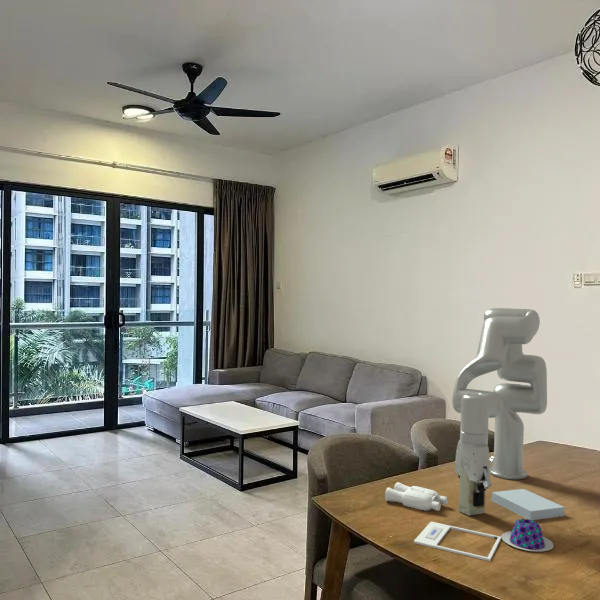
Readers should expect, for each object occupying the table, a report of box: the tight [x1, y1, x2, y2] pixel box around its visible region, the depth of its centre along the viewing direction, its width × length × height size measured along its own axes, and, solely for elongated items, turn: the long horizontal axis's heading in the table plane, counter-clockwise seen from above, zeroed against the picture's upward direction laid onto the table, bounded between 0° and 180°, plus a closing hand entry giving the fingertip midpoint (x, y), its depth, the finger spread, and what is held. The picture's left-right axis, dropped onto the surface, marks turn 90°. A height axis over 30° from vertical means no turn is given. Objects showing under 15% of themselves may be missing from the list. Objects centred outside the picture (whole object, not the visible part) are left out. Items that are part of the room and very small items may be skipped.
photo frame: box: [413, 521, 502, 562], centre depth 140 cm, size 15×1×18 cm
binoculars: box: [384, 482, 449, 512], centre depth 165 cm, size 10×16×5 cm, turn 55°
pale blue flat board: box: [491, 488, 565, 521], centre depth 165 cm, size 16×12×3 cm
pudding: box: [501, 518, 555, 552], centre depth 141 cm, size 12×12×5 cm
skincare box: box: [457, 468, 486, 517], centre depth 160 cm, size 6×4×12 cm
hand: (472, 501), depth 160 cm, fingers closed on skincare box, 4 cm apart
